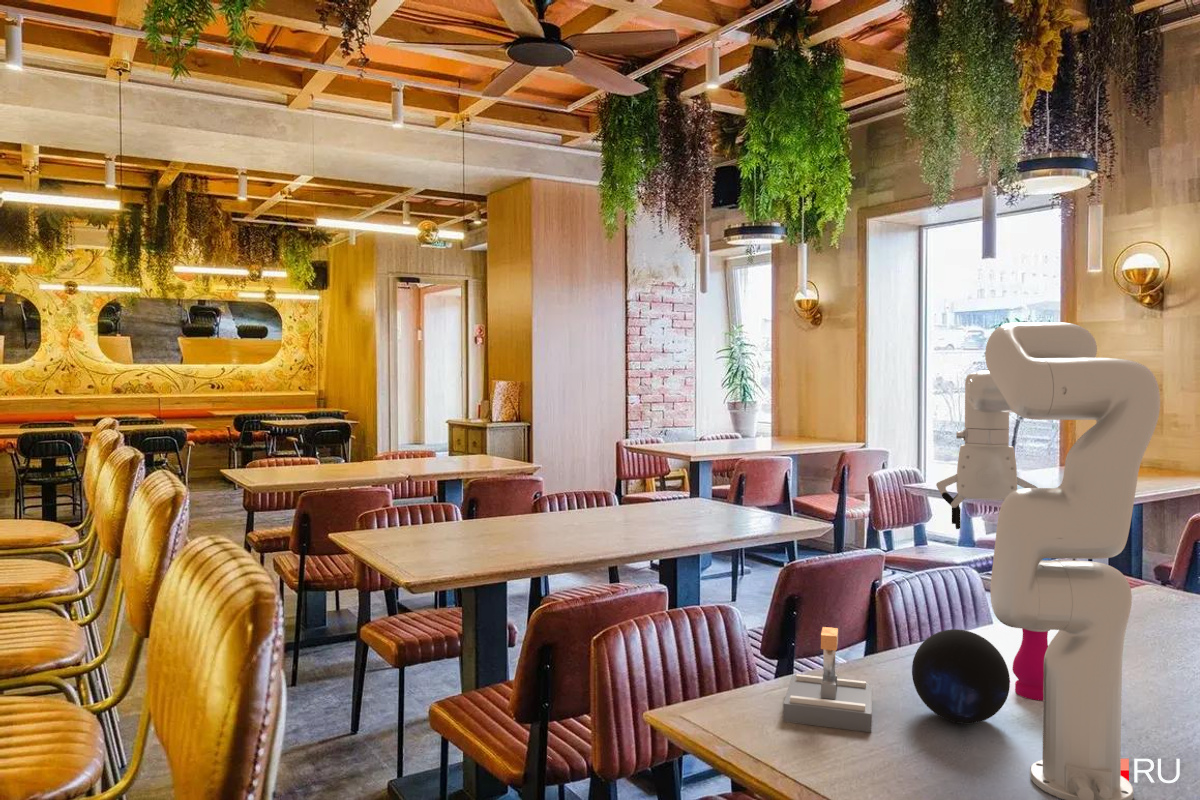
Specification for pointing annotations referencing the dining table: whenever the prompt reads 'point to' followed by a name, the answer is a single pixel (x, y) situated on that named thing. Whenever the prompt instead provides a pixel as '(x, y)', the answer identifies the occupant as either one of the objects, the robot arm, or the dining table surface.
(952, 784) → the dining table surface
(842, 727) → the switch panel
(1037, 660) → the pepper mill
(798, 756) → the dining table surface
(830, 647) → the lever
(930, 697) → the decorative sphere
